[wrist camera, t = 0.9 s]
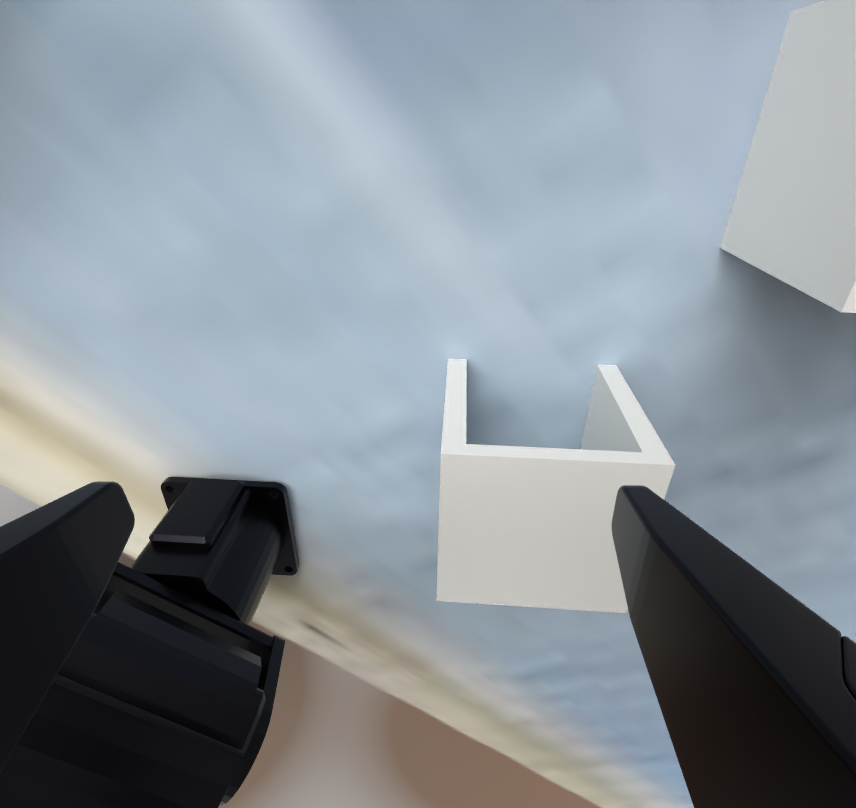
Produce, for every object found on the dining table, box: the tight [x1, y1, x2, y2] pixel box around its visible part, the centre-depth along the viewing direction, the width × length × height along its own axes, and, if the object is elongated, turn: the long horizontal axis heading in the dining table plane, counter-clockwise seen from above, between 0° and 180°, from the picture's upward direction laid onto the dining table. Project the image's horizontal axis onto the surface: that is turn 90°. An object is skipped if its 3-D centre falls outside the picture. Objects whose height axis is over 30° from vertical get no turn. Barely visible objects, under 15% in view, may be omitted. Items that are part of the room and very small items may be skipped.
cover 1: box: [437, 359, 675, 613], centre depth 20 cm, size 7×7×7 cm
